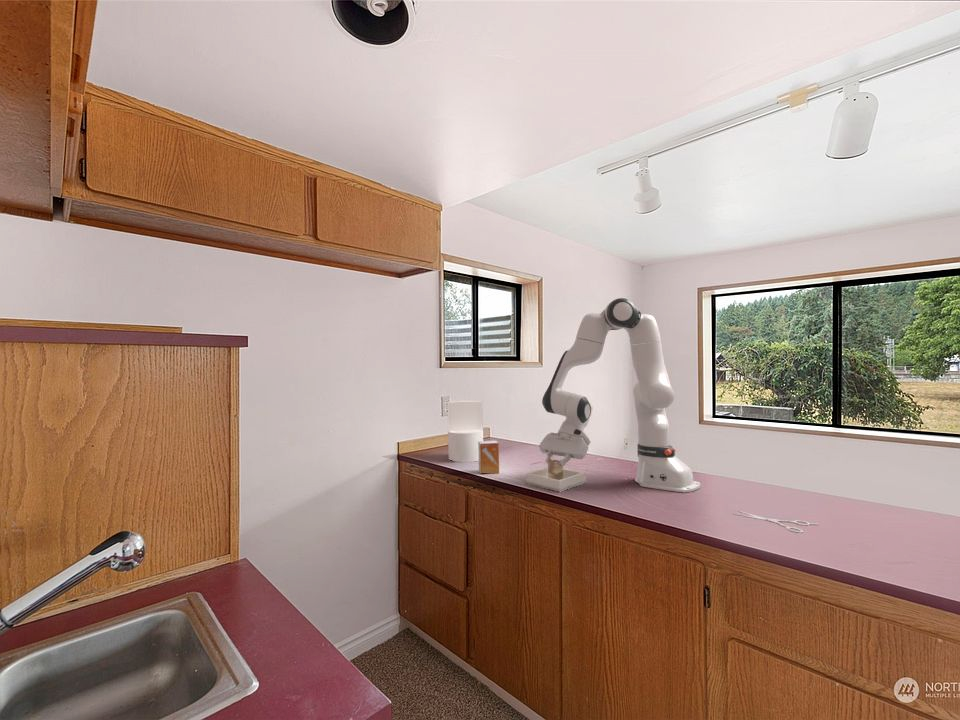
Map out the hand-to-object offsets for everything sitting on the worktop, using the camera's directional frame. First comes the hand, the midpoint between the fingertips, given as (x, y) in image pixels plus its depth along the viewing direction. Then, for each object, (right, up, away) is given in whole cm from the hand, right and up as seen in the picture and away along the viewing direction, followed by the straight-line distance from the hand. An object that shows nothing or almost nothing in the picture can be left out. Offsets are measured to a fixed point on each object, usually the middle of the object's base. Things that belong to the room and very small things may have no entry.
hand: (554, 463), depth 168 cm
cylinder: (-35, -9, +49) cm, 61 cm away
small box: (-25, -9, +21) cm, 33 cm away
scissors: (+54, -7, -43) cm, 69 cm away
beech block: (+1, -7, 0) cm, 7 cm away
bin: (+1, -8, 0) cm, 8 cm away
